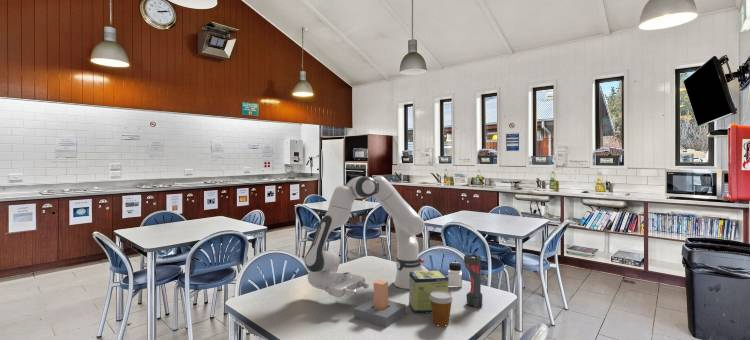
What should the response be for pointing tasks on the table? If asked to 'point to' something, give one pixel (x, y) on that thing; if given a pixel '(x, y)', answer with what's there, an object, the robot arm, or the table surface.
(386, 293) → the plug block
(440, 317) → the disposable coffee cup
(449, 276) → the medicine bottle
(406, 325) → the table surface
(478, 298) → the flashlight
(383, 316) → the socket block
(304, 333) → the table surface
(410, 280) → the protein box
